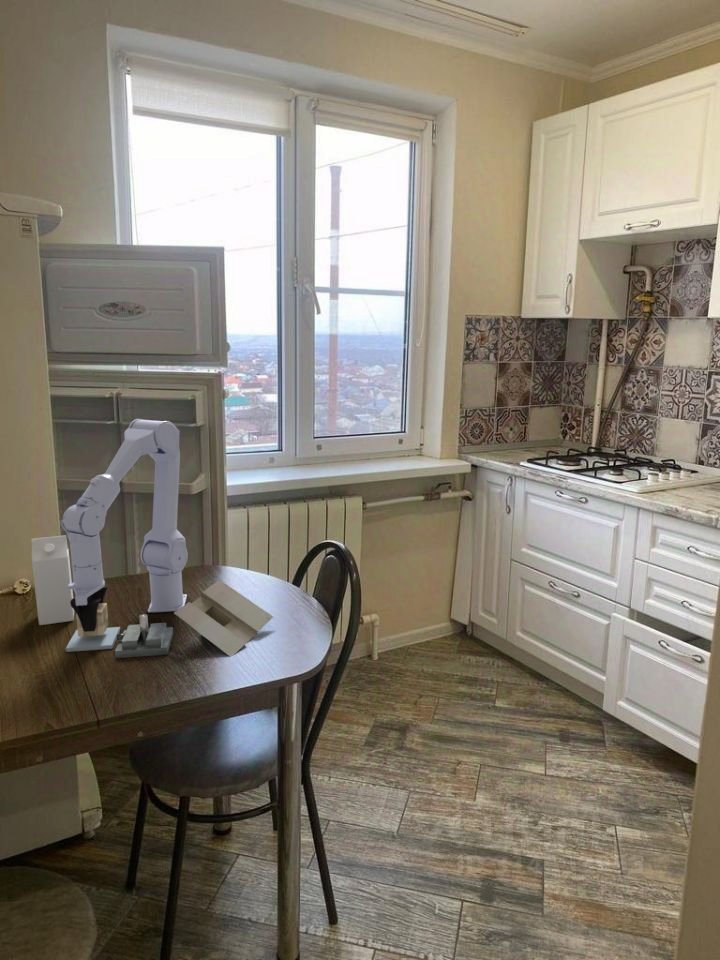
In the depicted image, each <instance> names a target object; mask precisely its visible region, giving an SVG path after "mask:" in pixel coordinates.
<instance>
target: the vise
mask: <svg viewBox="0 0 720 960" xmlns="http://www.w3.org/2000/svg"><path fill="white" fill-rule="evenodd" d="M138 618H139V624H128V625H127V629H124V630H123V632H122V633H119V634H117V639H116V641H118V643H117V645H116V648H115V650H114V654H115V659H121V658H122V659H123V658H135V657H149V656H150V657H151V656H164V655H168V653H169V650H170V646H171V643H172V639H173V636H174V628H173V626H169V627H167V622H160V623H159V622H156V623H150V626H149V622H148V621H149V620H148V614H145V613H144V614H140V615H138Z"/></svg>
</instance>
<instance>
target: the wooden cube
mask: <svg viewBox="0 0 720 960" xmlns="http://www.w3.org/2000/svg"><path fill="white" fill-rule="evenodd" d="M75 613H76V612H75ZM108 614H109V613H108V603H107V602H105V603H104V602H103V603H99V606H98V609H97V618H96V628H95V631H88V632H84V630H83V628H82V625H81V622H80V619H79V617H78V615H77V613H76V614H75V615H76V616H75V617H76V625H77V626H76V627H77V628H76V630H78V636H95V635H104V633H105V631H106V629H107V628H109V615H108Z"/></svg>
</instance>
